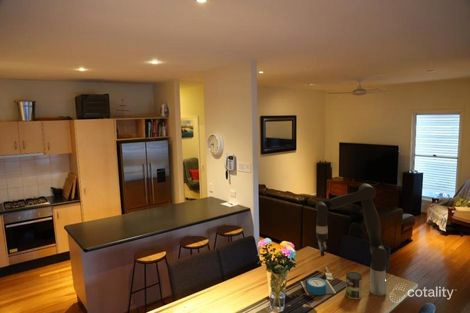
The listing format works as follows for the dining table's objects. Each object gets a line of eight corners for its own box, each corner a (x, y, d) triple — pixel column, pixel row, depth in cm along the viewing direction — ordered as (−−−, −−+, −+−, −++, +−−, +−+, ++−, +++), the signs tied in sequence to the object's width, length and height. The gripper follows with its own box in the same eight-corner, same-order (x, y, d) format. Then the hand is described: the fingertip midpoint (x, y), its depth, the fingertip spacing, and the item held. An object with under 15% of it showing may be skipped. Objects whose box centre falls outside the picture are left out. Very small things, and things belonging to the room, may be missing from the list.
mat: (326, 280, 237) (326, 279, 237) (336, 293, 219) (336, 292, 219) (300, 282, 236) (300, 281, 236) (307, 295, 218) (307, 294, 218)
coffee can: (352, 300, 210) (353, 280, 208) (342, 292, 220) (342, 273, 218) (365, 297, 214) (365, 277, 212) (354, 289, 223) (354, 270, 222)
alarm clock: (312, 288, 214) (302, 277, 228) (313, 297, 215) (302, 285, 229) (330, 285, 218) (318, 274, 232) (330, 293, 219) (318, 282, 233)
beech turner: (323, 268, 255) (323, 267, 255) (328, 268, 255) (328, 267, 255) (327, 280, 237) (327, 278, 237) (333, 280, 237) (333, 278, 237)
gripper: (331, 234, 212) (331, 259, 214) (323, 227, 225) (324, 251, 227) (319, 235, 211) (320, 260, 213) (313, 228, 224) (313, 252, 227)
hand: (322, 255), depth 220 cm, fingers closed
